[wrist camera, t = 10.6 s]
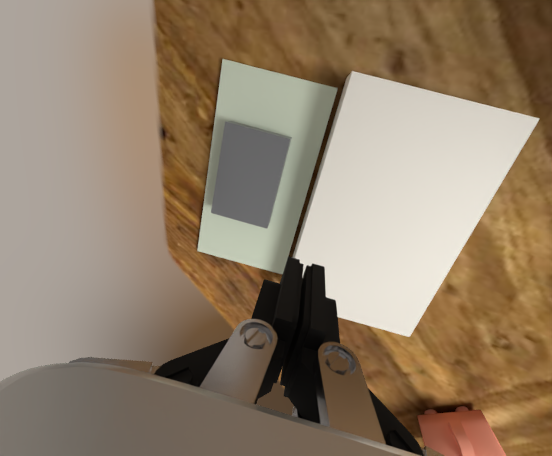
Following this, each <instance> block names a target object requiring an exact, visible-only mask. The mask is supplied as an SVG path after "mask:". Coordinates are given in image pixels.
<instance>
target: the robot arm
mask: <svg viewBox="0 0 552 456" xmlns="http://www.w3.org/2000/svg"><path fill="white" fill-rule="evenodd" d="M303 266H304V264H302V263H300V260H299V259H296V258H292V257H289V256H288V258H287V262H286V265H285V268H284V272H283V275H282V278H281V282H280V284H279V283H275V282H272V281H268V280H265V279H264V281H263V285H262V288H261V291H260V294H259V297H258V300H257V303H256V306H255V309H254V312H253V315H252V318H251V319H248V320H244V321H243V322H241V323H240V324H239V325H238V326H237V327H236V329H235V330H234V332H233V334H232V336H231V337H230V338H229V339H226V340H224V341H221V342H218V343H216V344H213V345H210V346H208V347H205V348H202V349H200V350H197V351H195V352H192V353H189V354H186V355H184V356H182V357H179V358H176V359H173V360H171V361H168V362H167V363H165V364H163V365H162V366H152V362H146V361H131V360H119V359H118V360H117V359H105V358H92V357H91V358H90V357H88V358H79V359H76V360H73V361H70V362H69V363H60V364H52V365H45V366H40V367H36V368H31V369H28V370H25V371H22V372H19V373H17V374H14V375H12V376H10V377H8V378H6V379H4V380H2V381H1V382H0V456H444V455H442V454H440V453H439V452H437V451H435V450H433V449H431V448H429V447H427V446H425V447H424V448H421V447H420V446H419V444H418V442H417V441H416V440H415V438H414V437H413V436H412V435H411V433H410V432H409V431H408V430H407V429H406V428H405V427H404V426H403V425H402V424H401V423H400V422H399V421H398V420H397V418H396V417H395V416H394V415H393V414H392V413H391V412H390V411H389V410H388V409H387V408H386V407H385V406H384V405H383V403H382V402H381V401H380V400H379V399H378V398H377V397H376V396H375V395H374V394H373V393H372V392H371V391H370V390H369V389H368V387H367V384H366V381H365V378H364V375H363V372H362V369H361V365H360V363H359V360H358V358H357V357H356V355H355V354H354V353H353V352H352V351H351V350H350V349H349V348H348V347H346V346H344V345H342V344H340V338H339V328H338V317H337V306H336V301H335V300H334V299H330V298H327V297H326V290H325V267H324V266H320V265H317V264H313V263H312V265H311V266H309V265H307V266H306V269H305V272H304V275H303ZM302 276H303V278H302ZM282 366H283V367H282ZM281 369H282V374H281V382H280V385H283V386H285V390H284V396H285V397H288V398H289V399H290V401H291V402H292V403H293V405H294V408H293V416H291V415H288V414H285V413H282V412H279V411H275V410H272V409H269V408H266V407H262V406H259V405H256V404H257V401H258V399H259V398H260V397H262V396H264V395H265V394H267V393H269V392H270V391H271V389H272V386H273V383H277V380H278V377H279V375H280V372H281Z"/></svg>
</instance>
